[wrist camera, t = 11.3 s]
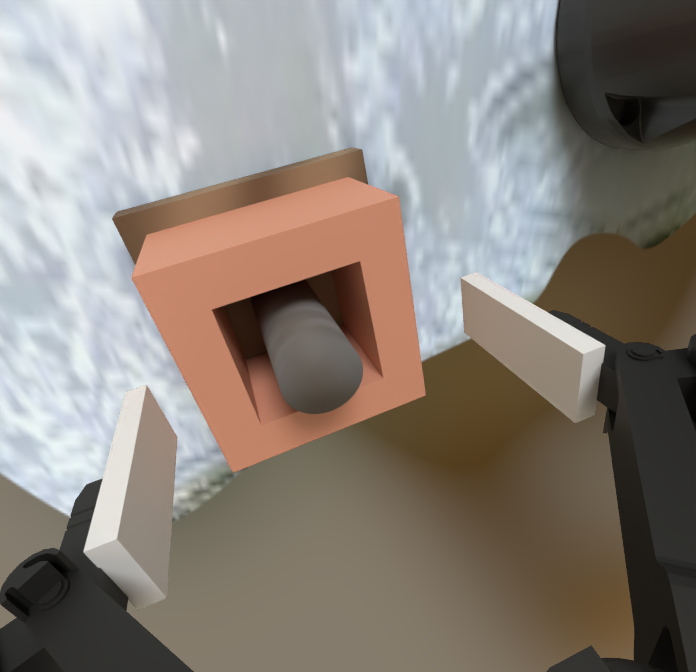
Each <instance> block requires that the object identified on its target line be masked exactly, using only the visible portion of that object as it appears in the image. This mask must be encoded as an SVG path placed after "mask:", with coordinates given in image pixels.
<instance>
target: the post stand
mask: <svg viewBox="0 0 696 672" xmlns="http://www.w3.org/2000/svg"><path fill="white" fill-rule="evenodd" d="M346 177H350V178H352V179H355V180H357V181H360V182H363V183H365V184H368V181H367V175H366V169H365V163H364V158H363V152H362V149H357V148H348V149H345V150H341V151H338V152H334V153H330V154H327V155H323V156H319V157H316V158H312V159H308V160H305V161H301V162H297V163H294V164H290V165H286V166H283V167H279V168H275V169H272V170H268V171H264V172H261V173H257V174H254V175H250V176H246V177H243V178H239V179H235V180H232V181H228V182H224V183H221V184H217V185H213V186H210V187H206V188H202V189H199V190H195V191H191V192H188V193H184V194H180V195H177V196H173V197H169V198H166V199H162V200H159V201H155V202H151V203H148V204H144V205H140V206H137V207H133V208H129V209H126V210H122V211H118V212H116V214H115V215H114V216H113V218H112V220H113V222H114V224H115V225H116V227H117V229H118V231H119V233H120V235H121V237H122V239H123V241H124V243H125V245H126V247H127V249H128V251H129V253H130V255H131V257H132V259H133V261H134V263H135V265H136V263H137V260H138V257H139V255H140V252H141V249H142V246H143V243H144V240H145V238H146V235H147V234H151V233H154V232H158V231H161V230H165V229H168V228H172V227H175V226H179V225H182V224H186V223H189V222H193V221H196V220H200V219H203V218H207V217H210V216H214V215H217V214H221V213H224V212H228V211H231V210H235V209H238V208H242V207H245V206H249V205H252V204H256V203H259V202H263V201H266V200H270V199H273V198H277V197H280V196H284V195H287V194H290V193H294V192H297V191H301V190H304V189H308V188H311V187H315V186H318V185H322V184H325V183H329V182H332V181H336V180H339V179H343V178H346ZM224 307H225V309H226V312H227V314H228V317H229V319H230V322H231V324H232V327H233V329H234V331H235V334H236V336H237V339H238V341H239V344H240V346H241V349H242V351H243V354H244V356H245V358H246V359H249V358H251V357H254V356H257V355H260V354H263V353H266V352H268V355H269V358H270V361H271V364H272V367H273V370H274V373H275V376H276V379H277V382H278V385H279V388H280V391H281V394H282V396H283V398H284V400H285V401H286V403H287V404H288V405H289V406H291V407H292V408H293V409H295V410H297V411H299V412H302V413H306V414H322V413H326V412H330V411H333V410H335V409H337V408H339V407H341V406H342V405H344V404H345V403H346V402H347V401H349V400H350V399H351V398H352V397H353V395H354V394H355V393H356V391H357V390H358V388H359V386H360V384H361V381H362V378H363V364H362V361H361V358H360V356H359V355H358V353H357V352H356V350H355V349H354V348H353V346H352V345H351V343H350V342H349V340H348V339H347V338H346V336H345V335H344V333H343V332H342V331H341V329H340V328H339V326H342V325H344V323H343V319H342V315H341V311H340V307H339V302H338V298H337V294H336V290H335V286H334V282H333V278H332V273H331V271H328V272H325V273H322V274H319V275H316V276H313V277H310V278H307V279H304V280H301V281H298V282H295V283H291V284H288V285H285V286H282V287H279V288H276V289H273V290H270V291H267V292H264V293H261V294H258V295H255V296H252V297H249V298H246V299H243V300H240V301H236V302H233V303H230V304H227V305H224Z"/></svg>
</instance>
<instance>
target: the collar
mask: <svg viewBox="0 0 696 672" xmlns="http://www.w3.org/2000/svg"><path fill="white" fill-rule="evenodd" d="M328 271H331V273H332V278H333V282H334V286H335V290H336V294H337V298H338V302H339V307H340V311H341V315H342V319H343V323H344V325H342V326H339V328H340V329H341V331H342V332H343V333H344V335H345V336H346V338H347V339H348V340H349V342H350V343H351V345H352V346H353V348H354V349H355V350H356V352H357V353H358V355H359V356H360V358H361V361H362V364H363V378H362V381H361V384H360V386H359V388H358V390H357V391H356V393H355V394H354V395H353V397H352V398H351V399H350V400H349V401H347V402H346V403H345V404H344V405H342V406H341V407H339V408H337V409H335V410H333V411H330V412H326V413H322V414H306V413H302V412H299V411H297V410H295V409H293V408H292V407H291V406H289V405H288V404H287V403H286V401H285V400H284V398H283V396H282V394H281V391H280V388H279V385H278V382H277V379H276V376H275V373H274V370H273V367H272V364H271V361H270V358H269V355H268V352H266V353H263V354H260V355H257V356H254V357H251V358H249V359H246V358H245V356H244V354H243V351H242V349H241V346H240V344H239V341H238V339H237V336H236V334H235V331H234V329H233V327H232V324H231V322H230V319H229V317H228V314H227V312H226V309H225V307H224V305H227V304H230V303H233V302H236V301H240V300H243V299H246V298H249V297H252V296H255V295H258V294H261V293H264V292H267V291H270V290H273V289H276V288H279V287H282V286H285V285H288V284H291V283H295V282H298V281H301V280H304V279H307V278H310V277H313V276H316V275H319V274H322V273H325V272H328ZM131 278H132V280H133V282H134V284H135V286H136V288H137V290H138V291H139V293H140V295H141V297H142V299H143V301H144V303H145V305H146V307H147V309H148V311H149V313H150V314H151V316H152V318H153V320H154V322H155V324H156V326H157V328H158V330H159V332H160V334H161V336H162V337H163V339H164V341H165V343H166V345H167V347H168V349H169V351H170V353H171V355H172V357H173V359H174V360H175V362H176V364H177V366H178V368H179V370H180V372H181V374H182V376H183V378H184V380H185V382H186V383H187V385H188V387H189V389H190V391H191V393H192V395H193V397H194V399H195V401H196V403H197V405H198V406H199V408H200V410H201V412H202V414H203V416H204V418H205V420H206V422H207V424H208V426H209V428H210V429H211V431H212V433H213V435H214V437H215V439H216V441H217V443H218V445H219V447H220V449H221V450H222V452H223V454H224V456H225V458H226V460H227V462H228V464H229V466H230V468H231V470H232V472H233V473H234V472H236V471H239V470H241V469H243V468H246V467H248V466H251V465H253V464H256V463H258V462H261V461H263V460H266V459H268V458H270V457H273V456H276V455H278V454H281V453H283V452H286V451H288V450H291V449H293V448H296V447H298V446H301V445H303V444H305V443H308V442H311V441H313V440H316V439H318V438H320V437H323V436H326V435H328V434H330V433H333V432H335V431H338V430H340V429H343V428H345V427H348V426H350V425H353V424H355V423H358V422H360V421H363V420H365V419H368V418H370V417H372V416H375V415H378V414H380V413H383V412H385V411H388V410H390V409H392V408H395V407H398V406H400V405H403V404H405V403H408V402H410V401H413V400H415V399H417V398H420V397H422V396H425V395H426V394H425V387H424V379H423V372H422V365H421V357H420V349H419V342H418V335H417V327H416V320H415V312H414V305H413V297H412V290H411V283H410V275H409V268H408V260H407V253H406V246H405V238H404V231H403V223H402V216H401V208H400V201H399V196H396V195H394V194H391V193H388V192H386V191H383V190H381V189H378V188H375V187H373V186H370V185H368V184H365V183H363V182H360V181H357V180H355V179H352V178H350V177H346V178H343V179H339V180H336V181H332V182H329V183H325V184H322V185H318V186H315V187H311V188H308V189H304V190H301V191H297V192H294V193H290V194H287V195H284V196H280V197H277V198H273V199H270V200H266V201H263V202H259V203H256V204H252V205H249V206H245V207H242V208H238V209H235V210H231V211H228V212H224V213H221V214H217V215H214V216H210V217H207V218H203V219H200V220H196V221H193V222H189V223H186V224H182V225H179V226H175V227H172V228H168V229H165V230H161V231H158V232H154V233H151V234H147V235H146V238H145V240H144V243H143V246H142V249H141V252H140V255H139V257H138V260H137V263H136V266H135V269H134V271H133V274H132V277H131Z"/></svg>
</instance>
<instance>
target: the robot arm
mask: <svg viewBox="0 0 696 672" xmlns="http://www.w3.org/2000/svg"><path fill="white" fill-rule="evenodd" d="M557 51H558V65H559V72H560V78H561V83H562V87H563V91H564V94H565V97H566V100H567V103H568V105H569V107H570V109H571V112H572V113H573V115H574V117H575V119H576V120H577V122H578V123H579V124H580V126H581V127H582V128H583V129H584V130H585V131H586V132H587V133H588V134H589V135H590V136H591V137H593V138H594V139H596V140H597V141H599V142H601V143H603V144H606V145H608V146H612V147H618V148H630V149H643V150H656V149H666V148H672V147H676V146H679V145H683V144H687V143H691V142H695V141H696V0H561V1H560V9H559V17H558V32H557ZM461 291H462V306H463V321H464V333H466V334H467V335H468V336H469V337H471V338H472V339H473V340H474V341H475V342H477V343H478V344H479V345H480V346H482V347H483V348H484V349H485V350H487V351H488V352H489V353H490V354H491V355H493V356H494V357H495V358H496V359H497V360H499V361H500V362H501V363H502V364H504V365H505V366H506V367H507V368H509V369H510V370H511V371H512V372H513V373H515V374H516V375H517V376H518V377H520V378H521V379H522V380H523V381H525V382H526V383H527V384H528V385H529V386H530V387H532V388H533V389H534V390H535V391H537V392H538V393H539V394H540V395H542V396H543V397H544V398H545V399H546V400H547V401H549V402H550V403H551V404H552V405H554V406H555V407H556V408H557V409H559V410H560V411H561V412H562V413H563V414H565V415H566V416H567V417H568V418H570V419H571V420H572V421H573V422H574V423H577V422H580V421H582V420H585V419H587V418H589V417H591V416H593V415H595V413H596V407H597V400H598V401H599V402H601V403H602V404H604V405H605V406H606V407H607V412H606V418H605V424H604V431H603V433H607V432H608V435H609V442H610V450H611V457H612V465H613V472H614V479H615V487H616V494H617V501H618V509H619V516H620V524H621V531H622V539H623V546H624V554H625V561H626V568H627V575H628V583H629V591H630V598H631V605H632V613H633V620H634V661H633V660H627V659H621V658H600V657H599V655H598V654H597V652H596V651H595V650H594V648H593V647H592V646H590V647H588V648H586V649H584V650H582V651H580V652H578V653H576V654H574V655H573V656H571V657H569V658H567V659H565V660H564V661H561V662H560V663H558V664H556V665H554V666H552V667H550V668H549V669H548V671H547V672H696V334H695V335H693V336H692V337H691V339H690V342H689V346H688V348H684V349H677V350H669V351H665V350H663V349H661V348H660V347H658V346H655V345H652V344H649V343H641V342H632V343H626V344H623V343H622V342H620V341H618V340H616V339H614V338H612V337H610V336H608V335H607V334H605V333H603V332H601V331H599V330H597V329H596V328H594V327H590V325H588V324H586V323H584V322H581V320H579V319H577V318H575V317H573V316H571V315H570V314H567V313H563V312H559V311H555V310H553V311H550V312H546V311H544V310H542V309H540V308H539V307H537V306H535V305H534V304H532V303H530V302H528V301H526V300H525V299H523V298H521V297H519V296H518V295H516V294H514V293H512V292H511V291H509V290H507V289H505V288H504V287H502V286H500V285H498V284H496V283H495V282H493V281H491V280H489V279H488V278H486V277H484V276H482V275H481V274H479V273H477V272H476V273H473V274H470V275H467V276H464V277H461ZM176 451H177V436H176V434H175V432H174V431H173V429H172V427H171V425H170V424H169V422H168V420H167V419H166V417H165V415H164V414H163V412H162V410H161V408H160V407H159V405H158V403H157V402H156V400H155V398H154V397H153V395H152V393H151V391H150V390H149V388H148V386H147V385H145V386H142V387H139V388H136V389H133V390H130V391H127V392H125V396H124V400H123V404H122V408H121V411H120V415H119V419H118V423H117V426H116V430H115V434H114V438H113V442H112V445H111V449H110V453H109V457H108V461H107V464H106V468H105V472H104V476H103V479H100V480H97V481H95V482H92V483H89V484H87V485H86V486H85V487H84V489H83V490H82V492H81V493H80V495H79V496H78V497H77V499H76V500H75V503H74V506H73V509H72V513H71V518H70V519H69V522H68V525H67V531H66V532H65V534H64V538H63V541H62V544H61V547H60V550H58V549H55V548H50V549H44V550H42V551H40V552H37V553H35V554H33V555H31V556H30V557H29V558H27V559H26V560H25V561H23V562H22V563H20V564H19V565H18V567H16V569H15V570H14V571H13V572H12V573H11V574H10V575H9V576H8V578H7V580H6V581H5V582H4V584H3V586H2V588H1V591H0V604H1V605H2V606H3V607H5V608H6V609H7V610H8V611H10V612H11V613H12V614H13V615H15V616H16V617H17V618H16V619H14V620H13V621H11V622H10V623H8V624H7V625H5V626H4V627H3V628H1V629H0V672H193V671H192V670H191V669H190V668H189V667H188V666H187V665H186V664H184V663H183V662H182V661H181V660H180V659H179V658H178V657H177V656H176V655H175V654H173V653H172V652H171V651H170V650H169V649H168V648H167V647H165V646H164V645H163V644H162V643H161V642H160V641H159V640H158V639H157V638H155V637H154V636H153V635H152V634H151V633H150V632H149V631H148V630H147V629H145V628H144V627H143V626H142V625H141V624H140V623H139V622H138V621H137V620H135V619H134V618H133V617H132V616H131V615H130V614H129V613H128V612H127V611H126V610H127V602H128V600H129V601H130V602H131V603H132V604H133V605H134V606H135V607H136V608H137V609H138V610H139V609H141V608H144V607H146V606H149V605H151V604H154V603H156V602H158V601H160V600H163V599H165V598H167V586H168V571H169V556H170V541H171V526H172V511H173V496H174V481H175V466H176Z"/></svg>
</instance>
